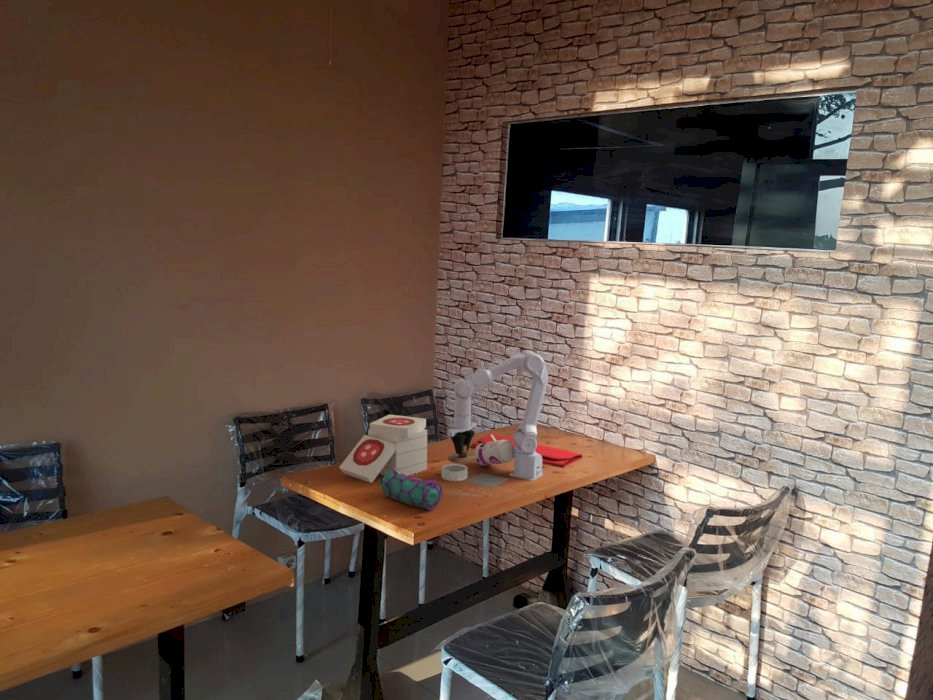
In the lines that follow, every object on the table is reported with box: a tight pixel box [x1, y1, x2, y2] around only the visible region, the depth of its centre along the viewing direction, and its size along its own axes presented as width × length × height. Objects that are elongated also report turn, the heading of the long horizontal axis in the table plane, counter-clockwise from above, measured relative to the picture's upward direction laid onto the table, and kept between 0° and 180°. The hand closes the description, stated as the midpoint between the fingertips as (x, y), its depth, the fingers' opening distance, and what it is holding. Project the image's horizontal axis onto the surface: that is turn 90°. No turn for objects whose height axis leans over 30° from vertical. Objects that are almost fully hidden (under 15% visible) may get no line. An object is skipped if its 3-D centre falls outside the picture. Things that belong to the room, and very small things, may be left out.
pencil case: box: [377, 468, 443, 511], centre depth 229 cm, size 21×9×10 cm, turn 49°
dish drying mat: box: [472, 433, 583, 468], centre depth 284 cm, size 16×41×4 cm, turn 55°
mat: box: [465, 472, 510, 489], centre depth 250 cm, size 11×11×1 cm
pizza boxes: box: [338, 413, 428, 484], centre depth 255 cm, size 19×30×18 cm, turn 138°
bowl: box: [441, 463, 469, 482], centre depth 253 cm, size 9×9×4 cm
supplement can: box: [473, 440, 515, 467], centre depth 262 cm, size 8×8×15 cm
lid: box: [447, 444, 477, 464], centre depth 251 cm, size 10×10×5 cm
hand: (461, 452), depth 251 cm, fingers closed on lid, 3 cm apart
